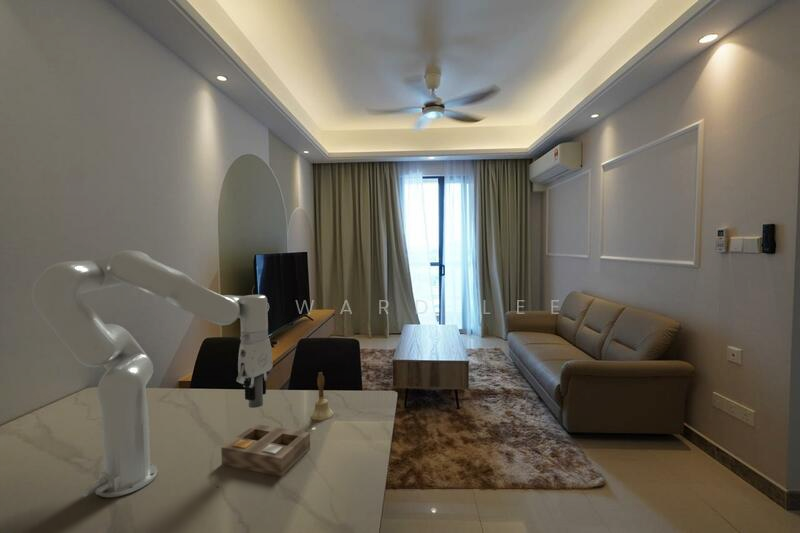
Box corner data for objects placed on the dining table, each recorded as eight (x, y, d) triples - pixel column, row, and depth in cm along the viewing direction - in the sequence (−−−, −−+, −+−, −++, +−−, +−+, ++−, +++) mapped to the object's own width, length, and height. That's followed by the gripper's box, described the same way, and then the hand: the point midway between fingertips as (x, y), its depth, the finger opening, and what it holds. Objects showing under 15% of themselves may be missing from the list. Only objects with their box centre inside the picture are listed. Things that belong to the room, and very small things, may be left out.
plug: (256, 408, 102) (256, 378, 102) (245, 406, 104) (245, 376, 103) (265, 403, 106) (265, 373, 106) (255, 401, 107) (254, 372, 107)
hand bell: (310, 422, 124) (309, 377, 123) (310, 412, 132) (309, 370, 131) (334, 418, 126) (333, 375, 125) (332, 409, 134) (331, 368, 133)
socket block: (310, 448, 106) (309, 431, 106) (281, 476, 93) (281, 457, 93) (255, 439, 112) (255, 423, 112) (221, 464, 99) (221, 446, 99)
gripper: (244, 343, 95) (245, 409, 96) (282, 331, 111) (283, 388, 112) (222, 341, 97) (223, 406, 98) (263, 329, 113) (264, 385, 114)
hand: (255, 396), depth 105 cm, fingers closed on plug, 4 cm apart
